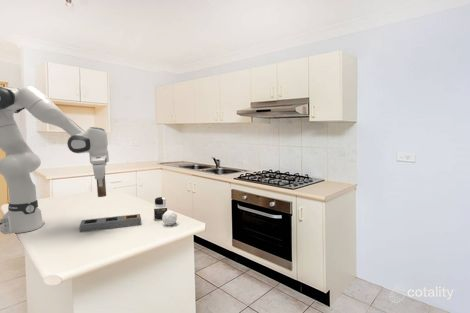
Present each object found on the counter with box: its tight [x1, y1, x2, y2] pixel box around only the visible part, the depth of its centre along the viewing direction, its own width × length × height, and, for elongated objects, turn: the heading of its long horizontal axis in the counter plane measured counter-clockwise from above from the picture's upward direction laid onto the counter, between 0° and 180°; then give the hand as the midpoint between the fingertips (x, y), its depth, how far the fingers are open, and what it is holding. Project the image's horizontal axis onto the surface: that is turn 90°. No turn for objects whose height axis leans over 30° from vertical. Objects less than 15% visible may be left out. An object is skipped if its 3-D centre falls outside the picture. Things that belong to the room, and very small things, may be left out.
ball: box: [161, 210, 178, 226], centre depth 153 cm, size 8×8×8 cm
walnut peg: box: [96, 172, 107, 198], centre depth 148 cm, size 4×4×12 cm
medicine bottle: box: [153, 196, 168, 221], centre depth 164 cm, size 7×7×12 cm
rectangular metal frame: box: [79, 213, 142, 233], centre depth 152 cm, size 29×9×4 cm, turn 112°
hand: (101, 185), depth 148 cm, fingers closed on walnut peg, 4 cm apart
